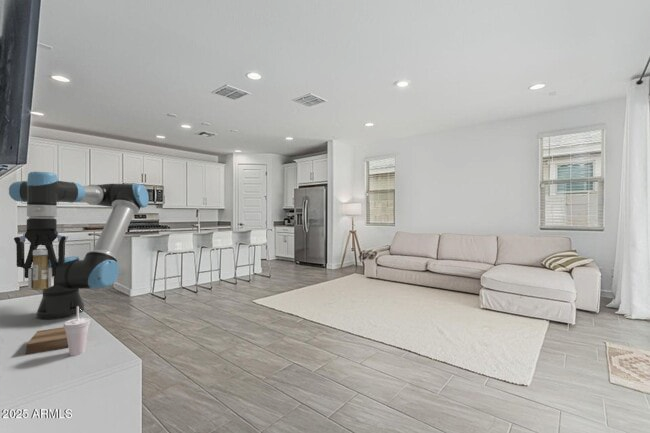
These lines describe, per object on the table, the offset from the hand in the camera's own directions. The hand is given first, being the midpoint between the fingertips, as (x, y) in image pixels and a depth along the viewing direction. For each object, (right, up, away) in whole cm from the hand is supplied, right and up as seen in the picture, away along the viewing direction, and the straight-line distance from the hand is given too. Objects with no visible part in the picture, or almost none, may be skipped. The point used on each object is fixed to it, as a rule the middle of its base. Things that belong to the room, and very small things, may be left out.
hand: (41, 286), depth 106 cm
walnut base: (+9, -17, -4) cm, 20 cm away
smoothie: (+21, -18, -11) cm, 29 cm away
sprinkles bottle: (0, -1, 0) cm, 1 cm away
